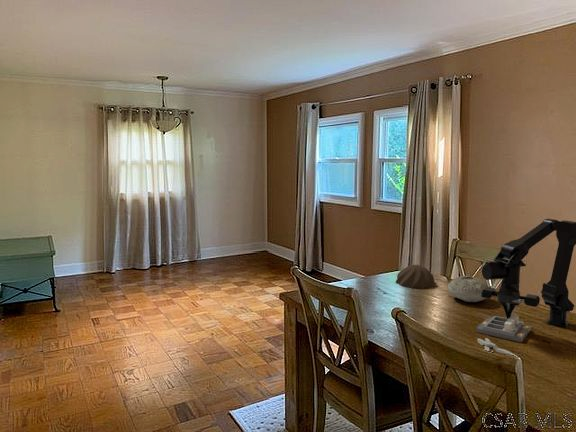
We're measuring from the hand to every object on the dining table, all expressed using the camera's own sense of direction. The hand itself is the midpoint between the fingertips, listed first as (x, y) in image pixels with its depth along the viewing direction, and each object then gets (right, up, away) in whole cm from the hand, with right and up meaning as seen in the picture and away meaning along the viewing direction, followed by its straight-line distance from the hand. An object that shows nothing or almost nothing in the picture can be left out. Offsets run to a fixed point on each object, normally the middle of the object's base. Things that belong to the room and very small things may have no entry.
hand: (508, 318), depth 162 cm
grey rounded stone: (-1, 0, +34) cm, 34 cm away
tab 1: (-4, -3, -8) cm, 9 cm away
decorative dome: (-17, +3, +62) cm, 64 cm away
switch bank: (-3, -4, -3) cm, 6 cm away
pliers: (-15, -7, -19) cm, 25 cm away
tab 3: (+2, -2, -1) cm, 3 cm away
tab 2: (-1, -3, -4) cm, 5 cm away
